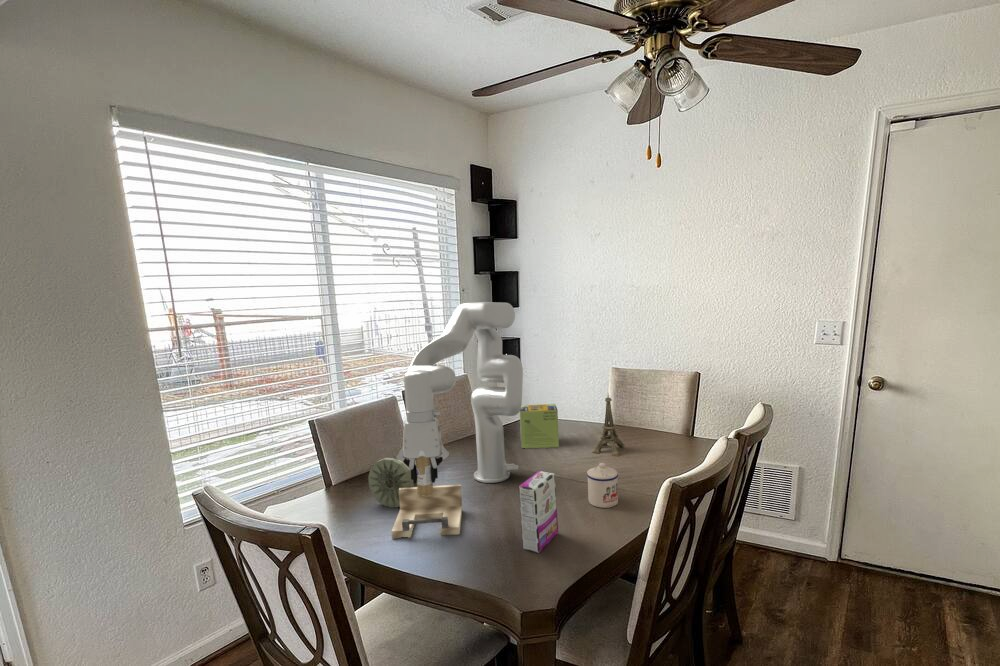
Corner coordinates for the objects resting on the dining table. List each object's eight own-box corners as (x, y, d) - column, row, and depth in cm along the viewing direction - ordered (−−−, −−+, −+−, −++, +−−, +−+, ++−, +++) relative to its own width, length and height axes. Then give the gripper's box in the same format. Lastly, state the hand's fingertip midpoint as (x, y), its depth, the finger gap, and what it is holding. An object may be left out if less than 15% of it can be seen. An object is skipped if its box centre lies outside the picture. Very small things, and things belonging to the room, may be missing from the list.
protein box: (559, 447, 195) (558, 409, 194) (521, 449, 195) (519, 411, 194) (556, 439, 205) (555, 403, 204) (520, 441, 206) (518, 405, 204)
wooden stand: (462, 510, 143) (460, 484, 142) (459, 534, 129) (457, 505, 128) (401, 514, 143) (399, 488, 142) (391, 538, 128) (389, 509, 128)
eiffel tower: (627, 448, 189) (625, 385, 187) (618, 457, 181) (616, 391, 178) (601, 445, 195) (599, 384, 193) (591, 453, 186) (589, 389, 184)
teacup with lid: (607, 511, 137) (605, 472, 136) (581, 502, 144) (580, 464, 143) (630, 498, 146) (629, 460, 144) (605, 489, 152) (603, 453, 151)
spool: (412, 510, 145) (409, 461, 144) (370, 504, 150) (366, 457, 149) (438, 488, 161) (435, 444, 159) (399, 483, 166) (396, 441, 165)
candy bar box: (541, 529, 130) (539, 469, 128) (558, 533, 127) (556, 472, 125) (521, 549, 120) (517, 485, 119) (539, 554, 117) (535, 488, 116)
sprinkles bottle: (413, 495, 133) (410, 447, 131) (426, 489, 136) (423, 443, 135) (424, 499, 130) (421, 450, 128) (437, 493, 133) (434, 445, 132)
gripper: (452, 411, 135) (456, 474, 136) (392, 414, 135) (396, 478, 136) (450, 417, 127) (454, 485, 129) (386, 421, 127) (391, 488, 129)
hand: (424, 480), depth 133 cm, fingers closed on sprinkles bottle, 4 cm apart
